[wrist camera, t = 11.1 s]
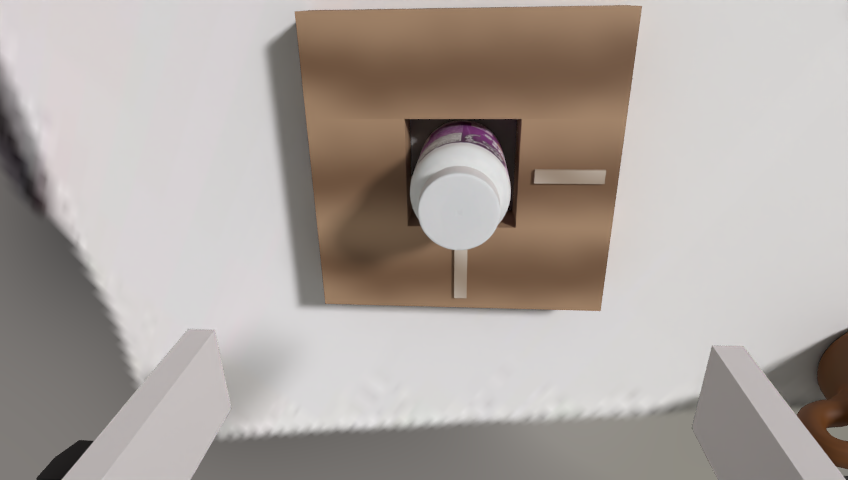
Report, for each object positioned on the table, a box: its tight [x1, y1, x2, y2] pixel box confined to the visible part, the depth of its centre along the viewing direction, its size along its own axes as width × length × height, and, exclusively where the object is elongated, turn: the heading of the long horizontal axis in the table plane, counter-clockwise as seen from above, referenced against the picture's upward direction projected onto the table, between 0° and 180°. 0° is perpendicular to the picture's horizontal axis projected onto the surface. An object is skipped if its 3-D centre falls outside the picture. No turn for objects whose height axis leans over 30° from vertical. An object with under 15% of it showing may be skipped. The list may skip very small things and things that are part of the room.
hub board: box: [295, 5, 642, 311], centre depth 33 cm, size 18×18×3 cm
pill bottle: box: [410, 120, 511, 250], centre depth 30 cm, size 5×5×10 cm
